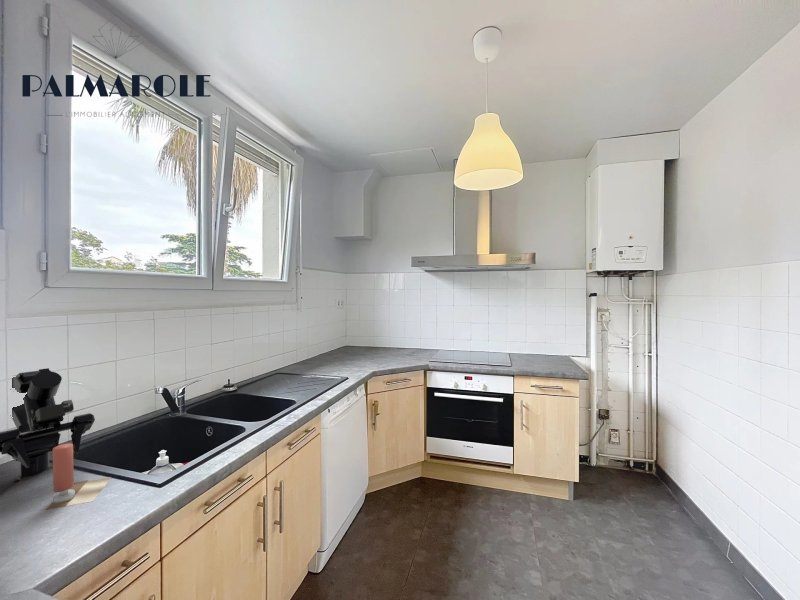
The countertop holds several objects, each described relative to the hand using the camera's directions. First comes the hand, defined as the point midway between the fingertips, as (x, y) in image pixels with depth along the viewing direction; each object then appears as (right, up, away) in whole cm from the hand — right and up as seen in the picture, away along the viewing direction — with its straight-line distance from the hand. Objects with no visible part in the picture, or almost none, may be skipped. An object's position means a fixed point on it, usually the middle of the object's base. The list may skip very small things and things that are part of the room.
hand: (53, 459), depth 89 cm
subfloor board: (+8, -9, -1) cm, 12 cm away
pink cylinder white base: (+7, -8, -4) cm, 11 cm away
